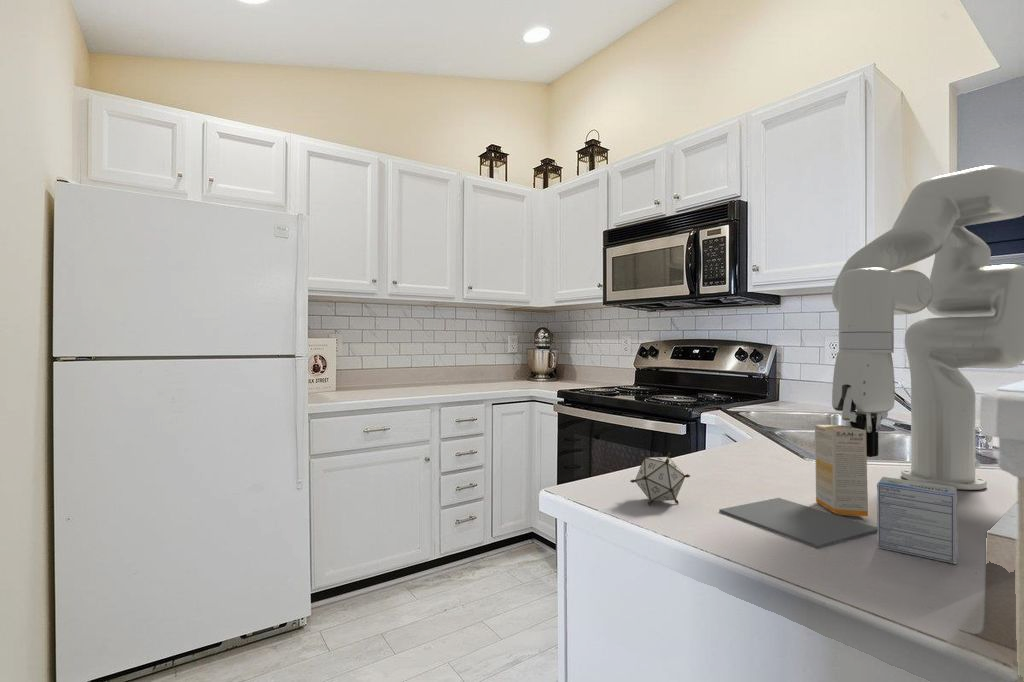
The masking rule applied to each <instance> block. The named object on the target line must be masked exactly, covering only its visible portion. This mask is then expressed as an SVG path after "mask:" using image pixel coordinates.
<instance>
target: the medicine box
mask: <svg viewBox="0 0 1024 682" xmlns="http://www.w3.org/2000/svg"><path fill="white" fill-rule="evenodd" d="M876 490H877V491H876V492H877V496H876V497H877V498H876V499H877V500H876V501H877V502H876V503H877V505H876V506H877V513H876V516H877V523H876V524H877V527H878V532H877V544H876V546H877V549H882V550H887V551H891V552H892V551H893V552H896V553H902V554H906V555H911V556H916V557H918V558H919V557H921V558H925V559H929V560H930V559H931V560H932V561H933V560H934V561H938V562H944V563H947V562H950V563H949V564H952V563H955V564H954V565H957V561H958V494H957V493H958V491H957V490H958V489H956V488H955V487H953V486H945V485H939V484H932V483H925V482H918V481H911V480H907V479H905V478H903V479H902V478H896V477H895V478H894V477H887V476H883V477H881V478H880V480H879V481H878V482H877V484H876Z"/></svg>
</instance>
